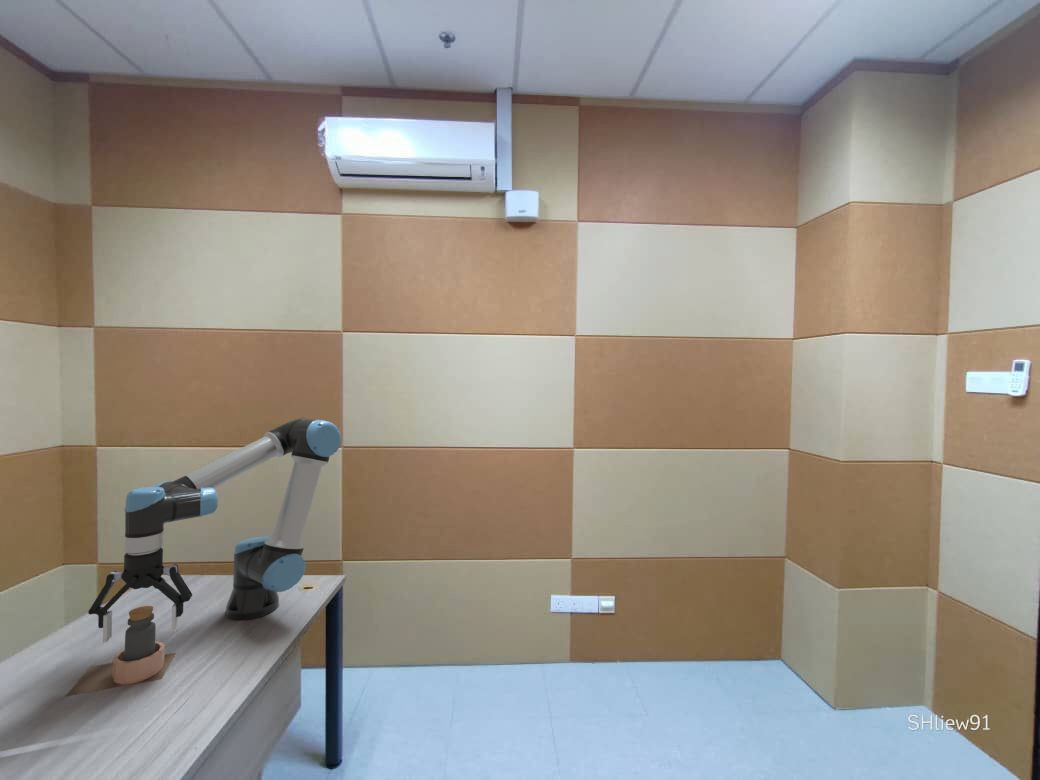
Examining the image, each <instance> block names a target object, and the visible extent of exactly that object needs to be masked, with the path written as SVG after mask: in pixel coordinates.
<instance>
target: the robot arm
mask: <svg viewBox="0 0 1040 780" xmlns="http://www.w3.org/2000/svg"><path fill="white" fill-rule="evenodd" d="M341 443H342V435H341V431H339V428H338V427H337V426H336V425H335V424H334V423H332V422H331V421H327V420H323V419H313V418H312V419H311V418H295V419H293V420H290V421H288V422H285V423H283V424H281V425H279V426H277V427H275V428H273V429H270V430H268V431H266V432H264V435H263V437H261V438H259V439H257V440H255V441H253V442H251V443H249V444H246V445H245V446H243V447H241V448H238V449H237V450H235V451H233V452H231V453H227V455H224V456H222V457H220V458H218V459H216V460H215V461H212V462H210V463H208V464H207V465H204V466H202V467H200V468H198V469H196V470H194V471H192V472H190V473H188V474H186V475H184V476H182V477H179V478H177V479H174V480H173V481H162V482H160V483H158V484H156V485H155V486H146V487H145V486H144V487H139V488H135V489H132V490H130V491H129V492H128V493H126V499H125V506H124V507H125V508H124V522H125V523H124V525H125V526H124V527H125V528H124V531H125V532H124V548H123V550H124V552H125V554H124V555H123V571H122V572H121V571H120V572H117V571H116V570H113V571H111V572H110V573H109V574H108V575H107V576H106V578H105V585H103V587H102V589H101V590H100V592H99V594H98V595H97V597H96V599H94V601H93V603H92V604H91V606H90V607H89V610H88V611H87V612H88V615H96V616H97V617H98V618H97V621H98V623H97V625H98V629H102V643H108V641H109V640H110V639H111V638H112V636H113V635H112V633H113V630H112V629H113V627H112V626H113V610H110V608H111V607H112V606H114V604H116V602H117V601H118V600H119V599H120V598H121V597H122V596H123V595H124V594H125V593H126V592H127V591H128V590H129V589H130V588H131V589H133V590H138V589H147V588H148V589H149V588H151V587H153V588H154V589H157V590H158V591H160V593H162V594H163V595H164V596H165V597H166V598H168V599H169V600H170V601H171V602H172V603H173V605H172V606H171V626H170V627H171V630H170V631H171V633H175V632H176V630H177V629H178V627H179V617H181V616H182V615H183V613H184V603H187V602H190V600H191V599H192V597H193V593H192V592H191V590H190V588H189V586H188V585H187V583H186V582H185V580H184V578H183V577H182V576H181V574H180V571H179V565H178V564H176V563H175V564H172V566H166V567H164V565H163V563H164V562H163V561H164V560H163V559H164V558H163V557H164V548H162V547H163V546H164V530H165V529H164V528H165V527H164V524H167V523H172V522H177V521H183V520H188V519H195V518H199V517H200V518H202V517H204V516H208V515H212V514H213V513H215V512H216V511H217V508H218V506H219V496H218V493H217V491H216V488H219V487H221V486H222V485H225V484H226V483H228V482H230V481H232V480H234V479H236V478H237V477H238V478H239V476H241V475H243V474H244V473H247V472H249V471H250V470H253V469H254V468H256V467H258V466H260V465H262V464H264V463H266V462H268V461H270V460H271V459H273V458H276V457H277V458H281V457H283V456H286V455H287V454H291V455H290V457H291V458H292V460H293V465H292V469H291V472H290V476H289V479H288V482H287V486H286V488H285V492H284V495H283V497H282V498H283V499H282V500H281V504H280V509H279V512H278V516H277V519H276V523H275V525H274V528H273V531H272V536H271V535H270V536H269V535H266V536H257V537H251V538H247V539H244V540H240V541H239V542H237V543H236V545H235V546H234V552H233V577H232V578H233V582H232V583H233V584H232V586H233V587H232V591H231V592H230V595H229V598H228V601H227V603H226V607H225V616H226V617H227V618H228V619H231V620H234V621H235V620H237V621H243V620H244V621H245V620H252V619H257V618H260V617H264V616H266V615H268V613H269V614H271V613H272V612H274V611H275V610H277V608H278V607H279V605H280V597H279V594H278V593H281V592H286V591H289V590H290V589H292V588H293V587H294V586H295V585H297V584H298V583H299V582H300V581H301V580H302V578H303V576H304V575H305V572H306V566H307V565H306V561H305V558H304V557H303V551H304V549H305V546H304V544H303V542H302V538H303V534H304V530H305V527H306V523H307V520H308V515H309V513H310V509H311V506H312V503H313V498H314V496H315V493H316V488H317V485H318V481H319V478H320V475H321V471H322V468H323V467H324V466H326V465H327V464H328V463H329V460H330V458H331V456H334V454H335V453H337V452H338V451H339V449H340V446H341ZM163 574H166V575H167V576H169V577H170V580H171V582H172V583H173V585H174V586H175V588H176V589H175V588H174V587H173V586H171V585H170V584H169V583H168V582H167V581H166V580H165V578H164V577H162V576H163ZM119 579H121V580H122V581H124V583H125V584H124V585H123V587H121V589H119V590H118V591H117V593H115V595H113V596H112V598H110V600H109V601H108V602H107V603H106V604H105V605H104V606H102V604H103V602H104V600H105V598H107V597H108V594H109V593H110V591H111V589H112V587H113V586H114V584H115V583H116V582H118V581H119ZM273 610H274V611H273ZM270 612H271V613H270ZM263 615H264V616H263Z"/></svg>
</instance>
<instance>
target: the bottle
mask: <svg viewBox="0 0 1040 780" xmlns="http://www.w3.org/2000/svg"><path fill="white" fill-rule="evenodd" d="M153 611H154V607H153V606H152V605H143V606H142V605H141V606H139V607H135V608H134V609H131V610H130V611H129V612H128V615H129V618H128V619H127V625H128V626H129V627H128V628H126V630H125V631H124V633H125V634H124V635H125V636H124V649H125V658H124V661H126V662H129V661H135V660H140V659H143V658H146V657H149V656H151V655H152V654H154V653H155V641H156V623H155V622H154V621H153V620H154V619H155V614H154V612H153Z"/></svg>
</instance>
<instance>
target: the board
mask: <svg viewBox="0 0 1040 780" xmlns="http://www.w3.org/2000/svg"><path fill="white" fill-rule="evenodd" d="M176 655H177V652H172V653H165V658H164V664H163V668H162V670H161V671H160V672H159V673H157V674H156V675H154V676H152V677H151V678H148V679H146V680H144V681H141V682H137V683H133V684H127V685H120V684H116V683H114V681H113V677H112V675H113V662H110V663H105V664H98V665H93V666H90V667H89V668H88V669H87V670H86V672H84V673H83V675H82V676H81V677H80V678H79V679H78V681H77V682H76V683H75V684H74V686H72V688H71V689H70V690H69V691H68V692H67V694H65V697H69V696H71V697H72V696H74V695H81V694H82V695H83V694H86V693H92V692H93V693H94V692H98V691H103V690H108V689H113V688H120V687H125V686H131V685H136V684H141V683H146V682H153V681H157V680H162V679H163V678H164V676H165V673H166V672H167V671H168V669H169V667H170V665H171V663H172V662H173V660H174V658H175V656H176Z"/></svg>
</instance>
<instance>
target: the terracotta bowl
mask: <svg viewBox="0 0 1040 780" xmlns="http://www.w3.org/2000/svg"><path fill="white" fill-rule="evenodd" d="M165 652H166V645H165V644H164V643H163V642H162V641H156V640H155V653H154V654H152V655H151V656H149V657H146V658H143V659H140V660H135V661H129V662H126V661H124V658H125V648H124V649H123V650H121V651H118V652H117V653H116V654H115V656H114V657H112V663H113V675H112V677H113V681H114V683H116V684H120V685H126V686H128V685H127V684H131V685H134V684H133V683H137V682H141V681H144V680H146V679H148V678H151V677H152V676H154V675H156V674H157V673H159V672H160V671H161V670H162V668H163V664H164V658H165V654H166V653H165ZM137 684H138V683H137Z"/></svg>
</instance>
